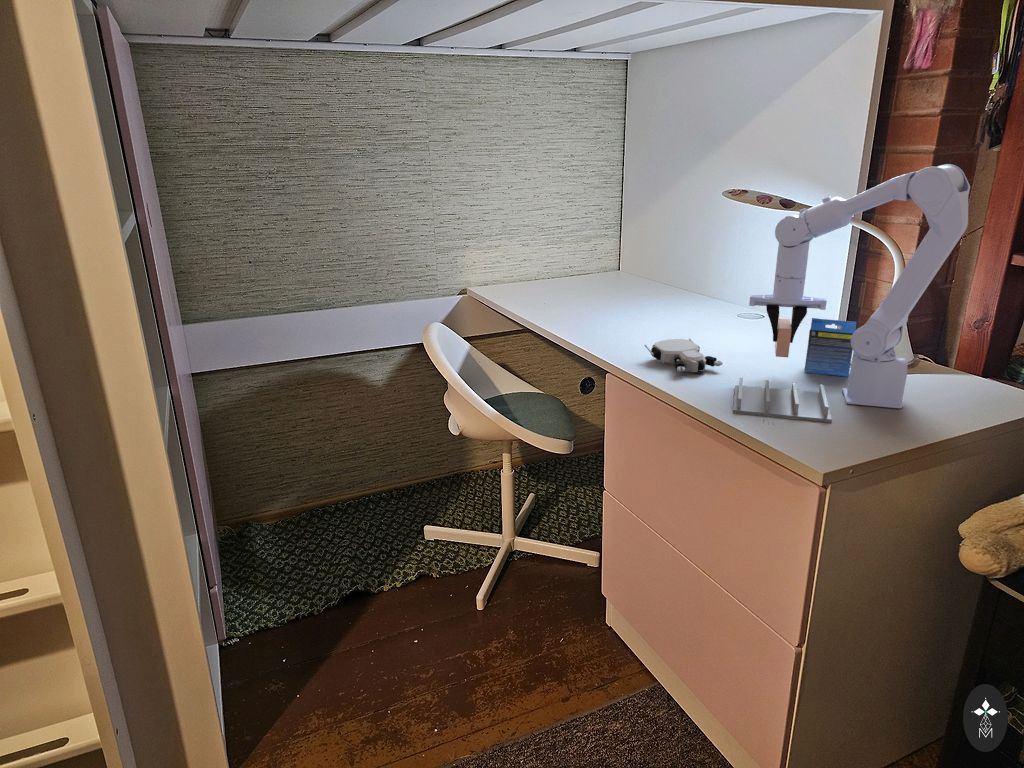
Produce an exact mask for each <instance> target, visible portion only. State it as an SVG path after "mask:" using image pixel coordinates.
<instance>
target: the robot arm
mask: <svg viewBox="0 0 1024 768" xmlns="http://www.w3.org/2000/svg"><path fill="white" fill-rule="evenodd" d="M970 190H971V185H970V183H969V181H968V179H967V177H966V174H965V172H964V171H963V169H962V168H961V167H959V166H957V165H955V164H951V163H950V164H949V163H946V164H941V165H938V166H928V167H923V168H922V169H920V170H917V171H912V172H909V173H905V174H901V175H899V176H896V177H893V178H891V179H888V180H886V181H884V182H882V183H880V184H877V185H876V186H874V187H871V188H869V189H867V190H865V191H863V192H861V193H858V194H856V195H854V196H852V197H850V198H847V199H846V198H843V197H840V196H835V197H832V196H830V195H829V196H826V197H824V198H822V202H821V203H819V204H816V205H814V206H812V207H810V208H807V207H805V208H802V209H800V210H798V214H795V215H786V216H785V217H784V218H783V219H781V220H779V221H778V223H777V225H776V226H775V228H774V229H775V230H774V236H775V239H776V241H777V242H778V247H777V254H776V256H777V257H776V264H775V265H776V266H775V274H774V284H773V291H772V292H773V293H772V294H750V295H749V303H748V304H749V305H748V306H749V307H755V306H758V307H760V306H761V307H765V308H766V313H767V316H768V319H769V321H770V326H771V329H772V341H773V342H774V343H775V342H777V327H778V319H780V308H781V307H782V308H792V310H791V311H792V312H791V320H790V322H791V328H792V330H791V339H790V344H793V341H794V337H795V335H796V333H797V330H798V329H799V326H800V325H801V323H802V322H803V320H804V319H805V317H806V316H807V314H808V309H818V310H823V311H824V310H826V307H827V301H828V300H827V298H824V297H823V298H822V297H814V296H805V295H804V290H805V284H806V283H805V282H806V276H807V275H806V274H807V268H808V267H807V266H808V261H809V260H808V259H809V250H810V244H811V243H810V242H811V241H812V240H813V239H816V238H819V237H820V236H823V235H826V234H828V233H831V232H834V231H836V230H838V229H841V228H843V227H846V226H848V225H849V224H850V222H851V221H852V218H853V216H854V215H857V214H860V213H862V212H865V211H868V210H870V209H872V208H875V207H878V206H880V205H884V204H886V203H890V202H891V201H894V200H898V201H903V202H907V201H913V203H915V205H916V206H917V207H918V208H919V209H920V210H921V211H922V212H923V214H924V216H925V218H926V222H927V223H928V226H929V228H928V229H929V230H928V231H927V233H926V234H925V235H924V237H923V239H922V240H921V242H920V244H919V245H918V247H917V248H916V250H915V251H914V253H913V254H912V256H911V257H910V259H909V261H908V263H906V265H905V267H904V268H903V270H902V271H901V273H900V275H899V276H898V278H897V279H896V281H895V282H894V284H893V285H892V288H891V289H890V290H889V292H888V293H887V294H886V296H885V298H884V300H883V301H882V302H881V304H880V306H879V307H877V308H876V310H875V311H874V312H873V314H871V316H870V317H869V318H868V319H867V321H866V323H865V324H864V325H862V326H859V328H856V329H855V332H854V333H853V335H852V337H851V347H852V349H853V352H852V358H851V365H850V371H849V376H848V384H847V388H846V387H842V393H843V396H844V400H845V403H846V404H848V405H855V406H856V405H858V406H866V407H867V406H869V407H878V408H879V407H880V408H890V409H902V408H903V406H902V403H903V398H904V393H905V386H906V383H907V377H908V360H907V358H905V357H897V356H896V355H897V354H896V351H895V347H896V346H898V345H899V344H900V342H901V341H902V339H903V335H904V334H903V332H904V327H905V326H906V324H907V323H908V320H909V315H910V313H911V312H912V310H913V309H914V308H915V306H916V304H917V303H918V302H919V300H920V299H921V297H922V295H923V294H924V293H925V291H926V290H927V288H928V287H929V285H930V284H931V282H932V281H933V280H934V278H935V276H936V275H937V273H938V272H939V271H940V269H941V268H942V266H943V265H944V263H945V262H946V261H947V258H948V257H949V256H950V254H951V253H952V251H953V249H954V248H955V247H956V245H957V243H958V242H959V241H960V240H961V237H962V236H963V235H964V233H965V232H966V230H967V228H968V226H969V194H970Z"/></svg>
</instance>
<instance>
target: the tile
mask: <svg viewBox="0 0 1024 768" xmlns="http://www.w3.org/2000/svg"><path fill="white" fill-rule="evenodd" d="M791 330H792V328H791V319H790V318H779V319H778V327H777V342H774V351H775V352H774V353H775V357H776V358H789V355H790V345H791V343H790V339H791Z"/></svg>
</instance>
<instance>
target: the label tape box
mask: <svg viewBox="0 0 1024 768" xmlns="http://www.w3.org/2000/svg"><path fill="white" fill-rule="evenodd" d="M832 325H834V326H837V327H840V328H832V327H826V326H832ZM856 327H857V321H850V320H849V321H848V320H841V319H840V320H839V319H838V320H836V319H829V318H826V319H825V318H819V317H817V318H816V317H811V323H810V329H809V333H808V342H807V347H806V348H807V349H806V354H805V355H806V356H805V361H804V363H805V364H804V373H807V374H813V375H814V374H815V375H816V374H817V375H827V376H828V375H829V376H834V377H835V376H836V377H837V376H838V377H846V378H849V376H850V370H851V363H852V357H853V349H852V347H851V337H852V335H853V333H854V332H855V331H856V330H857V328H856Z"/></svg>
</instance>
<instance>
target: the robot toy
mask: <svg viewBox="0 0 1024 768" xmlns="http://www.w3.org/2000/svg"><path fill="white" fill-rule="evenodd" d="M644 348H646V349H647V351H648V352H649V353H650V356H652V357H653V358H654V359H656V360H658V362H660V363H661V364H664V365H665V364H674V367H675V370H676V371H677V372H680V373H681V372H685V373H698V372H701V371H702V372H704V371H706V365H707V366H710V367H720V366H722V365H723V362H722V361H721V360H718V359H717V357H715V356H711V355H707V356H705V355H704V354H703V353H701V352H700V349H701V348H700V346H699V345H698V344H696V343H695V342H694V341H693V340H692V339H691V337H690V338H688V339H685V338H674V339H664V340H660V341H656V342H655V343H654V344H652V347H651V349H650V348H649V347H648V345H647V344H645V343H644Z"/></svg>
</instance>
